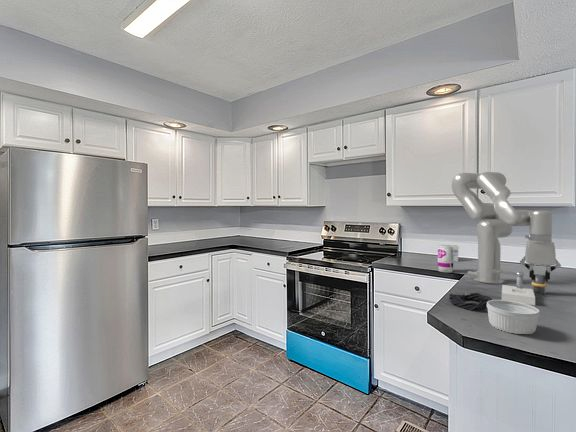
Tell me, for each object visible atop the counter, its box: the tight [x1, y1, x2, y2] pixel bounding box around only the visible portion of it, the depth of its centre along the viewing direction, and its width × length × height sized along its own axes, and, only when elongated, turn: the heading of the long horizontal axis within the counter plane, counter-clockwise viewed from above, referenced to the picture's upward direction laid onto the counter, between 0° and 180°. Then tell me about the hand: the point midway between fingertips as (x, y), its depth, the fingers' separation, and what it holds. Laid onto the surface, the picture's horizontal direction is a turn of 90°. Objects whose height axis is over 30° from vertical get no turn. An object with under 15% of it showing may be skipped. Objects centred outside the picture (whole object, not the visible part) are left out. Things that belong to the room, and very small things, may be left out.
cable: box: [448, 292, 493, 312], centre depth 117 cm, size 17×14×4 cm
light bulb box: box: [446, 244, 459, 262], centre depth 218 cm, size 11×7×11 cm, turn 67°
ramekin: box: [487, 299, 541, 335], centre depth 94 cm, size 13×13×7 cm
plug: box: [531, 273, 548, 296], centre depth 134 cm, size 5×5×8 cm
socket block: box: [501, 275, 536, 306], centre depth 126 cm, size 10×16×8 cm, turn 144°
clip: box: [488, 268, 525, 277], centre depth 134 cm, size 3×12×2 cm, turn 46°
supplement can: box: [437, 244, 454, 274], centre depth 180 cm, size 8×8×15 cm
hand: (539, 279), depth 134 cm, fingers open, 4 cm apart
